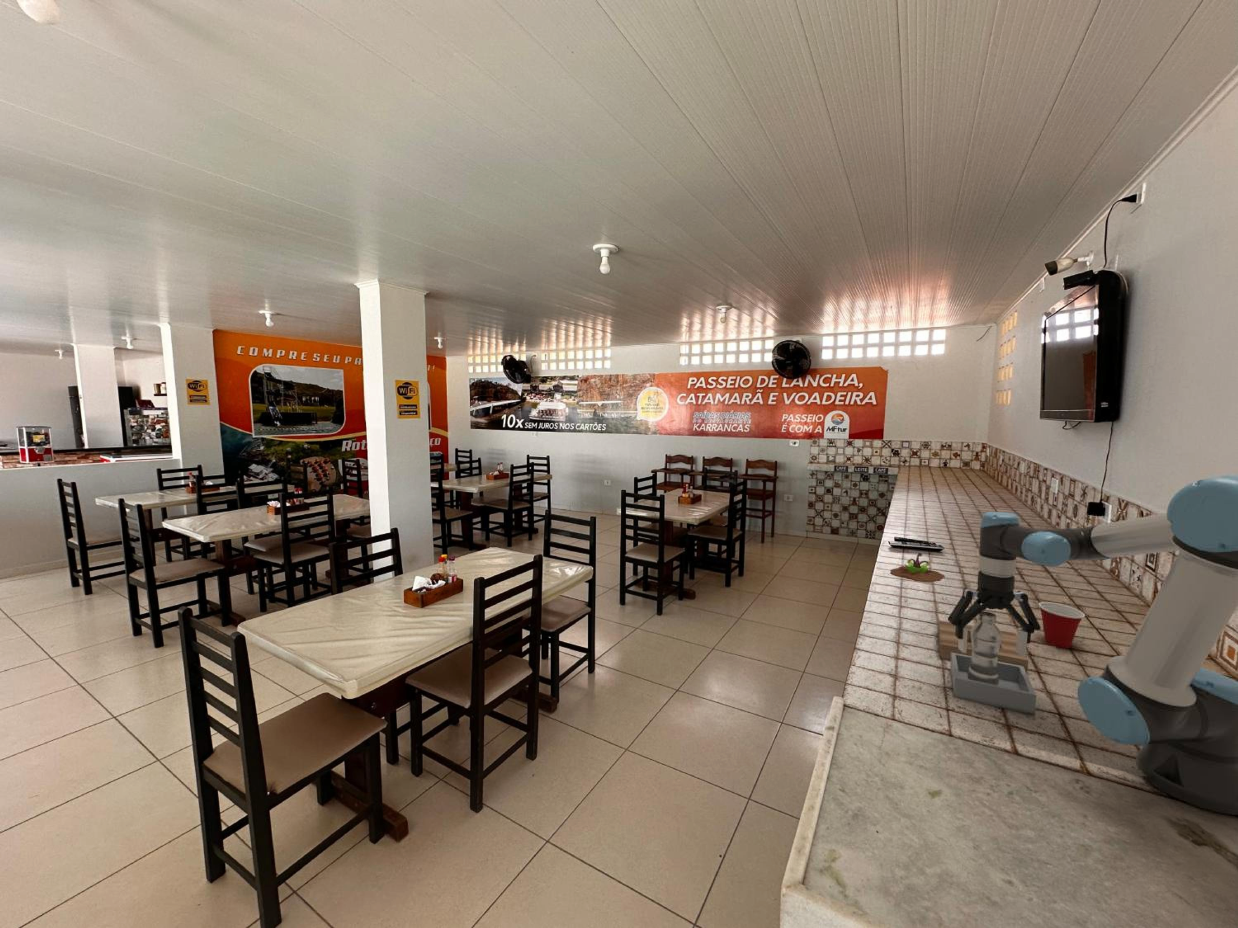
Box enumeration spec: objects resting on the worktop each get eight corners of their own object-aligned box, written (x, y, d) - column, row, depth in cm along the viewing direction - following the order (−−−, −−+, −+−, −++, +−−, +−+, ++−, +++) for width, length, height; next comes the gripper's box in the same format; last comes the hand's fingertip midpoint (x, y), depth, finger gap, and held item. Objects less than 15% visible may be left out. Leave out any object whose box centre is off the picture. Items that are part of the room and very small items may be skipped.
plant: (952, 580, 218) (953, 555, 217) (930, 588, 207) (931, 562, 206) (905, 568, 234) (906, 545, 233) (883, 576, 224) (884, 551, 223)
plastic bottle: (963, 679, 134) (967, 607, 132) (993, 683, 132) (998, 610, 130) (970, 691, 128) (975, 616, 126) (1002, 696, 126) (1007, 620, 124)
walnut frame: (1027, 675, 136) (1028, 660, 136) (940, 658, 147) (941, 643, 146) (1014, 646, 154) (1015, 632, 153) (937, 633, 164) (938, 619, 163)
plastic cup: (1078, 657, 147) (1081, 617, 146) (1032, 644, 155) (1034, 607, 154) (1085, 646, 154) (1088, 608, 153) (1040, 634, 162) (1042, 599, 161)
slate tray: (1034, 715, 119) (1036, 695, 118) (954, 696, 127) (955, 677, 126) (1022, 684, 132) (1023, 666, 132) (950, 669, 140) (951, 652, 140)
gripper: (1042, 570, 128) (1036, 649, 130) (936, 566, 133) (932, 642, 135) (1062, 579, 121) (1056, 663, 123) (949, 574, 125) (944, 655, 127)
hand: (991, 652), depth 129 cm, fingers open, 13 cm apart
